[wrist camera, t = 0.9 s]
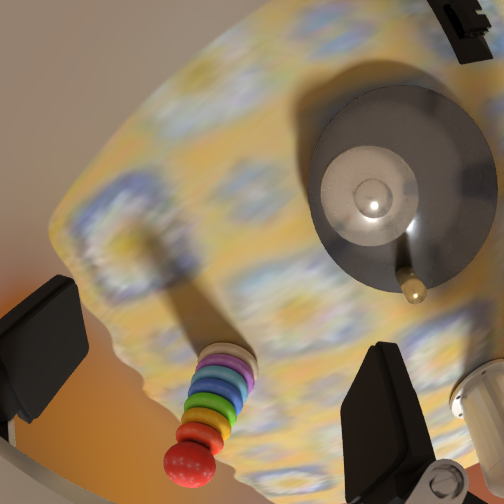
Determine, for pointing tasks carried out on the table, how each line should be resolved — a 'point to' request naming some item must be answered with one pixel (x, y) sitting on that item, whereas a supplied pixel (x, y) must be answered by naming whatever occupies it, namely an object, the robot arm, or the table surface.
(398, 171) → the cover
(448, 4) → the black mechanical part
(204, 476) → the stacking toy
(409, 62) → the table surface
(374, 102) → the turntable
